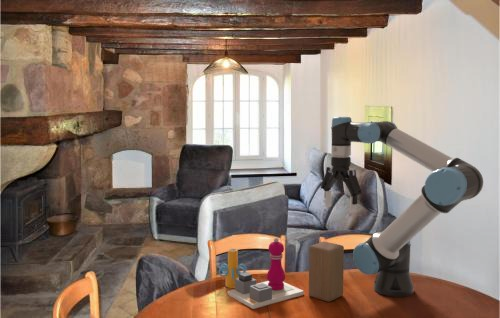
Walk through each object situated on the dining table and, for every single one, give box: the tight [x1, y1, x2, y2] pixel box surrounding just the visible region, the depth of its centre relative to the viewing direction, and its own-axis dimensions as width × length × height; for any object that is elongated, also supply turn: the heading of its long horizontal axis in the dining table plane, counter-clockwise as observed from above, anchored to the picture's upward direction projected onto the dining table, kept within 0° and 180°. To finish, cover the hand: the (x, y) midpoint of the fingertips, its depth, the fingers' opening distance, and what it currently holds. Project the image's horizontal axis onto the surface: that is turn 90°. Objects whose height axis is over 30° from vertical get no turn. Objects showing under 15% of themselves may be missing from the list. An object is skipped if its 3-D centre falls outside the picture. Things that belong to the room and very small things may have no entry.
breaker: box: [239, 271, 253, 282], centre depth 198 cm, size 4×4×4 cm
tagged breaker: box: [254, 284, 268, 290], centre depth 190 cm, size 4×4×4 cm
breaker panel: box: [227, 277, 305, 310], centre depth 198 cm, size 17×24×6 cm
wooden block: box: [308, 241, 345, 303], centre depth 196 cm, size 10×10×20 cm
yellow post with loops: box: [218, 248, 248, 289], centre depth 207 cm, size 12×10×15 cm
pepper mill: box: [266, 237, 286, 290], centre depth 200 cm, size 7×7×20 cm
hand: (340, 209), depth 203 cm, fingers open, 13 cm apart
